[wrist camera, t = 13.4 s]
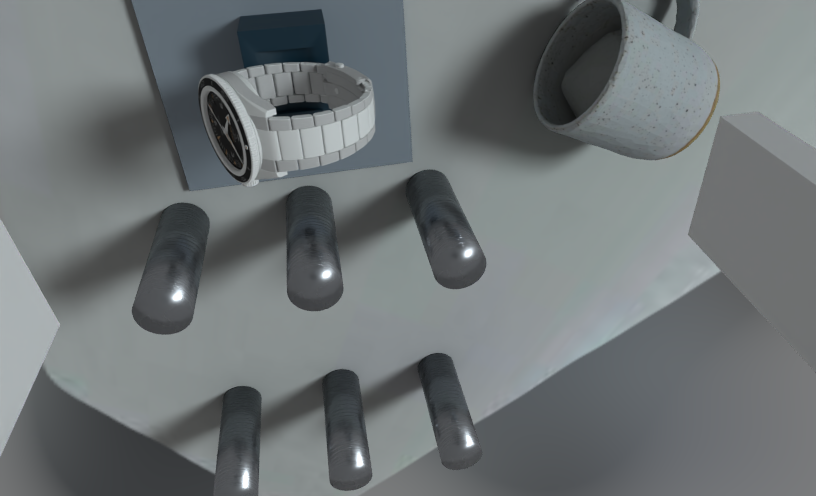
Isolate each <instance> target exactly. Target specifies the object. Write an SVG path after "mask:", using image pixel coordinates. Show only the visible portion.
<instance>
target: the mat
mask: <svg viewBox="0 0 816 496" xmlns="http://www.w3.org/2000/svg"><path fill="white" fill-rule="evenodd" d="M131 1H132V4H133V7H134V10H135V14H136V17H137V20H138V23H139V27H140V30H141V33H142V37H143V40H144V43H145V46H146V50H147V53H148V56H149V59H150V63H151V66H152V69H153V72H154V76H155V79H156V82H157V85H158V89H159V92H160V95H161V98H162V102H163V105H164V108H165V111H166V115H167V118H168V121H169V124H170V128H171V131H172V134H173V137H174V141H175V144H176V147H177V150H178V154H179V157H180V160H181V163H182V167H183V170H184V173H185V176H186V180H187V183H188V186H189V189H190V191H194V190H201V189H209V188H216V187H224V186H232V185H239V184H241V183H240V182H238V181H236V180H235V179H234V178H233V177H232V176H231V175H230V174H229V173H228V171H227V170H226V169H225V168H224V166H223V165H222V163H221V162H220V160H219V158H218V157H217V155H216V153H215V151H214V149H213V147H212V145H211V143H210V140H209V138H208V135H207V133H206V130H205V127H204V124H203V120H202V117H201V112H200V107H199V100H198V87H199V82H200V79H201V78H202V77H203V76H205V75H209V74H214V75H215V74H219V73H223V72H228V71H232V72H233V71H237V70H240V69H244V65H243V60H242V55H241V50H240V45H239V40H238V35H237V29H238V24H239V20H240V16H249V15H260V14H271V13H283V12H294V11H305V10H317V9H322V13H323V18H324V22H325V29H326V37H327V45H328V54H329V61H331V62H335V63H343V64H344V65H345V66H347V67H350V68H352V69H355V70H357V71H358V72H360V73H362V74H363V75H365V76H366V77H368V78H369V79H370V80H371V81H372V86H373V92H374V100H375V133H374V135H373V137H372V139H371V140H370V141H369V142H367V144H366V145H365V146H364V147H362V148H361V149H360V150H358V151H356V152H355V153H354V154H352V155H350V156H348V157H346V158H344V159H339V160H338V161H336V162H333V163H330V164H327V165H323V166H321V165H320V166H318V167H314V168H309V169H303V170H300V169H298V170H294V171H287V175H285V176H283V177H279V178H271V179H259V182H262V181H269V180H277V179H284V178H292V177H300V176H307V175H315V174H322V173H330V172H337V171H345V170H353V169H360V168H368V167H375V166H383V165H390V164H398V163H406V162H413V161H412V144H411V127H410V110H409V93H408V77H407V60H406V43H405V26H404V9H403V0H131ZM299 132H300V131H299ZM300 139H301V136H300ZM301 145H302V142H301ZM302 151H303V148H302ZM303 156H304V155H303ZM297 161H298V160H297ZM298 167H299V163H298Z"/></svg>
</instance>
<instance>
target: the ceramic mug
mask: <svg viewBox="0 0 816 496" xmlns="http://www.w3.org/2000/svg"><path fill="white" fill-rule="evenodd" d="M676 2H677V15H676V24H675V27H674V31H673V30H671V29H670V28H668V27H666V26H665V25H663V24H662V23H660V22H658V21H657V20H655V19H654V18H652V17H650V16H649V15H647V14H646V13H644V12H642V11H641V10H639V9H638V8H636V7H634V6H633V5H631V4H630V3H628V2H626V1H625V0H586V1H584V2H583V3H581V4H580V5H578V6H577V7H576V8H575V9H574V10H573V11H572V12H571V13H570V14H569V15H568V16H567V17H566V18H565V19H564V21H563V22H562V23H561V24H560V26H559V27H558V28H557V30H556V32H555V33H554V35H553V36H552V38H551V39H550V41H549V43H548V45H547V47H546V49H545V51H544V53H543V56H542V58H541V60H540V63H539V66H538V69H537V72H536V77H535V82H534V88H533V102H534V109H535V112H536V115H537V117H538V119H539V120H540V122H541V123H542V124H543V125H544V126H545V127H546V128H548V129H549V130H551V131H553V132H556V133H559V134H562V135H566V136H569V137H571V138H574V139H577V140H580V141H583V142H585V143H588V144H591V145H595V146H598V147H601V148H604V149H607V150H610V151H613V152H615V153H618V154H620V155H624V156H627V157H631V158H636V159H644V160H659V159H664V158H668V157H671V156H673V155H676V154H677V153H679V152H681V151H682V150H684V149H685V148H687V147H688V146H689V145H690V144H691V143H692V142H694V141H695V140H696V139H697V138H698V136H699V135H700V134H701V133H702V131H703V130H704V129H705V127H706V125H707V124H708V122H709V121H710V119H711V117H712V115H713V112H714V110H715V108H716V105H717V102H718V98H719V91H720V78H719V73H718V69H717V67H716V65H715V63H714V61H713V60H712V59H711V57H710V56H709V55H708V54H707V53H706V52H705V51H704V50H703V49H702V48H701V47H700V46H698V45H697V44H696V43H694V42H693V41H691V39H692V37H693V36H694V32H695V29H696V26H697V21H698V17H699V5H700V0H676Z"/></svg>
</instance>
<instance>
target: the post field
mask: <svg viewBox="0 0 816 496" xmlns="http://www.w3.org/2000/svg"><path fill="white" fill-rule="evenodd" d="M406 196H407V199H408V202H409V205H410V208H411V210H412V213H413V216H414V219H415V222H416V225H417V228H418V231H419V234H420V236H421V239H422V242H423V245H424V248H425V251H426V254H427V257H428V259H429V262H430V265H431V268H432V271H433V274H434V277H435V279H436V280H437V282H438V283H439V284H440V285H442V286H444V287H446V288H450V289H461V288H465V287H468V286H470V285H472V284H474V283H475V282H476V281H478V280H479V279H480V278H481V276H482V275H483V273H484V271H485V268H486V258H485V256H484V254H483V251H482V249H481V247H480V245H479V243H478V241H477V239H476V237H475V235H474V233H473V231H472V229H471V227H470V225H469V223H468V221H467V218H466V216H465V214H464V212H463V210H462V208H461V206H460V204H459V202H458V200H457V198H456V196H455V194H454V192H453V190H452V187H451V185H450V183H449V181H448V179H447V178H446V176H445V175H444V174H442V173H441V172H439V171H436V170H424V171H421V172H419V173H417V174H415V175H414V176H413V177H412V178H411V179H410V180H409V182H408V184H407V187H406ZM209 227H210V222H209V218H208V216H207V214H206V213H205V212H204V211H203V210H202V209H201V208H199V207H197V206H195V205H193V204H189V203H177V204H173V205H171V206H169V207H168V208H167V209H165V211H164V212H163V213H162V216H161V219H160V222H159V225H158V228H157V231H156V235H155V238H154V241H153V244H152V247H151V250H150V253H149V257H148V260H147V263H146V266H145V269H144V272H143V275H142V279H141V282H140V285H139V288H138V291H137V294H136V297H135V301H134V304H133V307H132V315H133V318H134V320H135V321H136V322H137V324H138V325H139V326H141V327H142V328H143V329H145V330H147V331H149V332H152V333H156V334H174V333H177V332H180V331H182V330H184V329H185V328H186V327H187V326H188V325H189V324H190V323H191V321H192V318H193V314H194V308H195V303H196V298H197V292H198V287H199V281H200V276H201V271H202V265H203V260H204V254H205V249H206V244H207V238H208V233H209ZM286 238H287V294H288V297H289V299H290V300H291V302H292V303H293V304H294V305H295V306H297V307H299V308H301V309H303V310H307V311H321V310H325V309H327V308H330V307H331V306H333V305H334V304H336V303H337V302H338V301H339V299H340V298H341V296H342V293H343V281H342V273H341V266H340V259H339V251H338V244H337V237H336V229H335V222H334V215H333V207H332V201H331V198H330V196H329V195H328V194H327V193H326V192H325V191H324V190H322V189H321V188H318V187H315V186H304V187H300V188H298V189H296V190H294V191H293V192H292V193H291V194H290V196H289V197H288V199H287V202H286ZM418 372H419V375H420V379H421V383H422V387H423V391H424V395H425V399H426V403H427V407H428V411H429V415H430V418H431V422H432V426H433V430H434V434H435V438H436V442H437V446H438V450H439V453H440V457H441V461H442V464H443V465H444V466H445V467H446V468H448V469H452V470H460V469H465V468H468V467H470V466H472V465H474V464H475V463H477V462H478V461H479V459H480V458H481V456H482V450H481V446H480V444H479V440H478V437H477V434H476V431H475V428H474V425H473V422H472V419H471V416H470V413H469V410H468V407H467V404H466V400H465V397H464V394H463V391H462V388H461V385H460V382H459V379H458V376H457V373H456V370H455V367H454V364H453V361H452V359H451V357H450V356H448V355H446V354H442V353H436V354H431V355H429V356H427V357H425V358H424V359H423V360H422V361H421V362H420V364H419V366H418ZM322 385H323V398H324V412H325V425H326V439H327V452H328V466H329V479H330V483H331V485H332V486H333V487H334V488H336V489H339V490H345V491H349V490H355V489H359V488H361V487H363V486H365V485H366V484H368V483H369V481H370V480H371V478H372V469H371V462H370V455H369V448H368V441H367V434H366V427H365V420H364V413H363V405H362V398H361V391H360V384H359V378H358V376H357V375H356V374H355V373H354V372H352V371H350V370H344V369H342V370H336V371H333V372H331V373H329V374H328V375H327V376H326V377H325V378H324V380H323V383H322ZM261 400H262V398H261V394H260V393H259V392H258V391H257V390H256V389H254V388H251V387H247V386H240V387H235V388H232V389H230V390H229V391H227V392H226V394H225V395H224V397H223V406H222V416H221V425H220V435H219V444H218V454H217V464H216V473H215V483H214V493H213V496H258V483H259V455H260V428H261Z"/></svg>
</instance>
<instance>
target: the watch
mask: <svg viewBox="0 0 816 496" xmlns="http://www.w3.org/2000/svg"><path fill="white" fill-rule="evenodd" d="M237 35H238V40H239V45H240V50H241V55H242V60H243V65H244V69H240V70H237V71H233V72H232V71H228V72H223V73H219V74H215V75H214V74H209V75H205V76H203V77H202V78H201V79H200V82H199V87H198V100H199V107H200V112H201V117H202V120H203V124H204V127H205V130H206V133H207V135H208V138H209V140H210V143H211V145H212V147H213V149H214V151H215V153H216V155H217V157H218V158H219V160H220V162H221V163H222V165H223V166H224V168H225V169H226V170H227V171H228V173H229V174H230V175H231V176H232V177H233V178H234V179H235V180H236V181H238V182H240V183H241V184H243V186H247V187H251V186H255V185H257V184H258V183H259V179H271V178H279V177H283V176H285V175H287V171H294V170H298V169H300V170H303V169H309V168H314V167H318V166H320V165H321V166H323V165H327V164H330V163H333V162H336V161H338V160H339V159H344V158H346V157H348V156H350V155H352V154H354V153H355V152H356V151H358V150H360V149H361V148H362V147H364V146H365V145H366V144H367V142H369V141H370V140H371V139H372V137H373V135H374V133H375V100H374V92H373V86H372V81H371V80H370V79H369V78H368V77H366V76H365V75H363V74H362V73H360V72H358V71H357V70H355V69H352V68H350V67H347V66H345V65H344V64H343V63H335V62H331V61H329V54H328V45H327V37H326V29H325V22H324V18H323V13H322V9H317V10H305V11H294V12H283V13H271V14H260V15H249V16H240V20H239V24H238V29H237ZM299 131H300V132H299ZM300 136H301V139H300ZM301 142H302V145H301ZM302 148H303V151H302ZM303 155H304V156H303ZM297 160H298V161H297ZM298 163H299V167H298Z"/></svg>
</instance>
